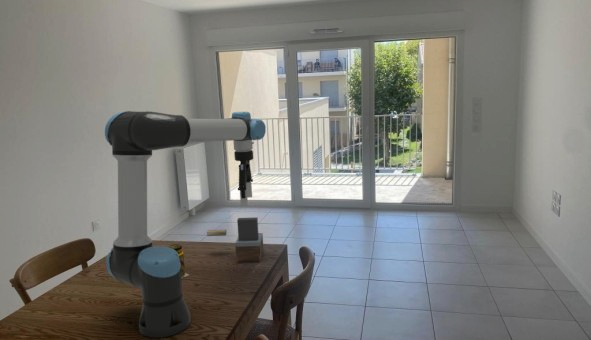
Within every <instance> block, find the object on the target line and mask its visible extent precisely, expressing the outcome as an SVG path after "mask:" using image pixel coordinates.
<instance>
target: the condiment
mask: <svg viewBox="0 0 591 340" xmlns="http://www.w3.org/2000/svg"><path fill="white" fill-rule="evenodd" d="M168 247H170V248H172V249H174V250H175V251H176V252H177V253H178V255H179V260H180V263H181V279H183V278H186V277H189V276H190V274H188V273H186V269H185V255H184V251H183V246H182V244H178V243H177V244H176V243H175V244H171V245H169V246H168Z"/></svg>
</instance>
